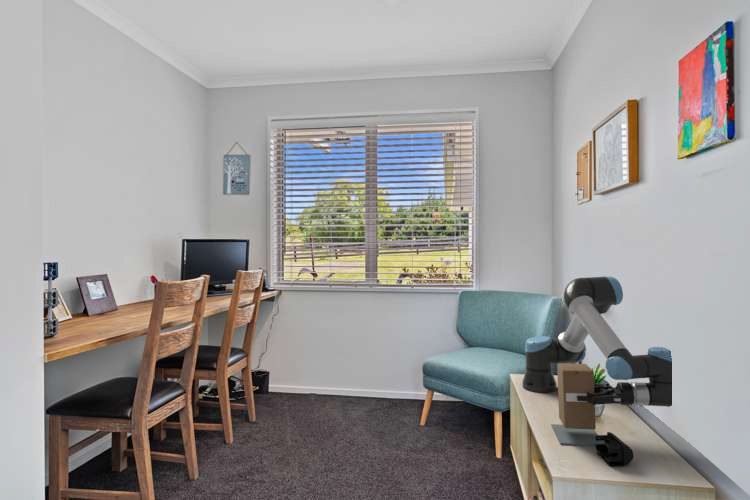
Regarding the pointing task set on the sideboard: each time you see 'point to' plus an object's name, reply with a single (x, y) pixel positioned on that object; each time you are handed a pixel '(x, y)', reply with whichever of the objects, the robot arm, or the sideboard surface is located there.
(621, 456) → the black rounded block
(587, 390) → the wooden block
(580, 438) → the mat
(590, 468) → the sideboard surface
